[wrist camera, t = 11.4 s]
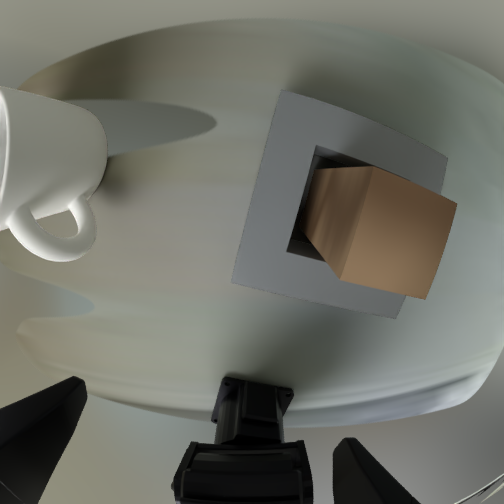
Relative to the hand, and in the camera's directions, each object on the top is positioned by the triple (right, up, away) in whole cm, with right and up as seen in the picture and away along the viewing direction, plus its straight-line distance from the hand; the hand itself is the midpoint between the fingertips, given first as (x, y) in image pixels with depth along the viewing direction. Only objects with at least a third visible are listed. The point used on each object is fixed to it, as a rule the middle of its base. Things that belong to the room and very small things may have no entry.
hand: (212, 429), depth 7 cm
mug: (-12, +12, +11) cm, 20 cm away
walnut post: (+7, +9, +11) cm, 16 cm away
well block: (+7, +9, +11) cm, 16 cm away
